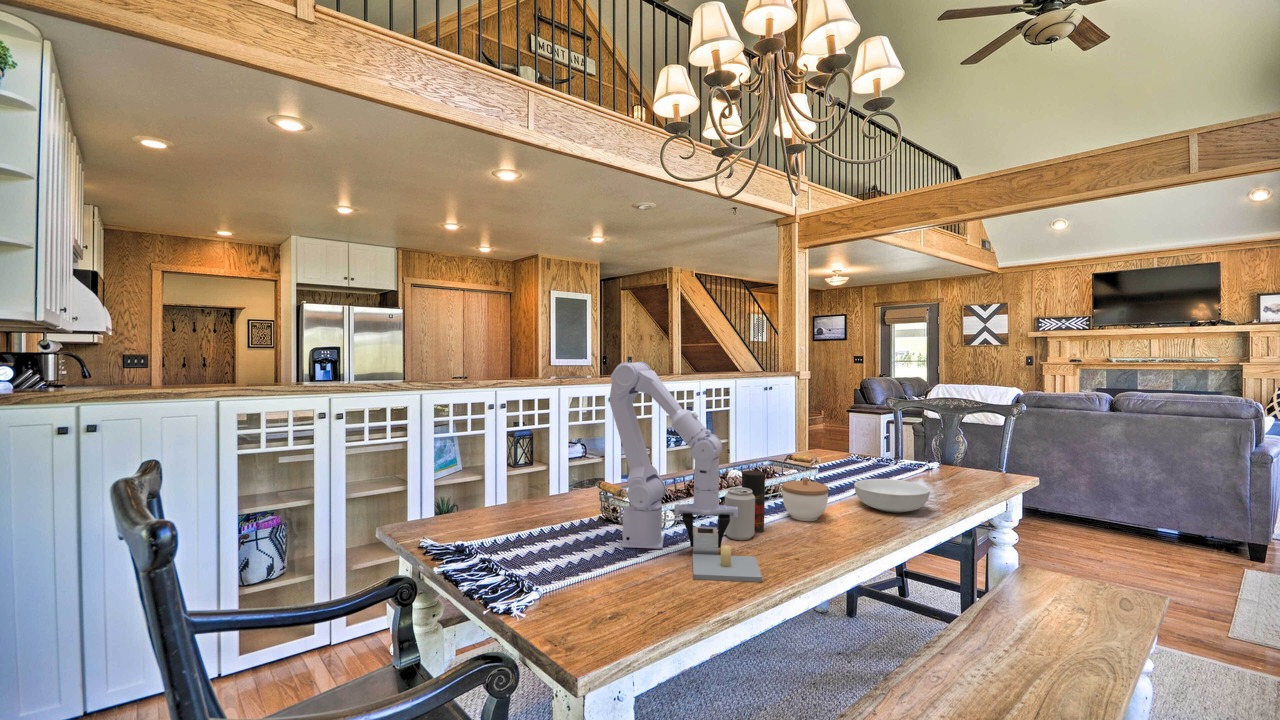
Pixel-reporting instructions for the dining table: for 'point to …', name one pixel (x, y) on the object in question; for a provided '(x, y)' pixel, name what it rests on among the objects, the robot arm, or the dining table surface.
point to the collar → (705, 540)
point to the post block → (726, 567)
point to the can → (741, 513)
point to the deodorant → (756, 495)
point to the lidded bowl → (805, 499)
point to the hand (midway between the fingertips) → (705, 546)
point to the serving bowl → (892, 494)
